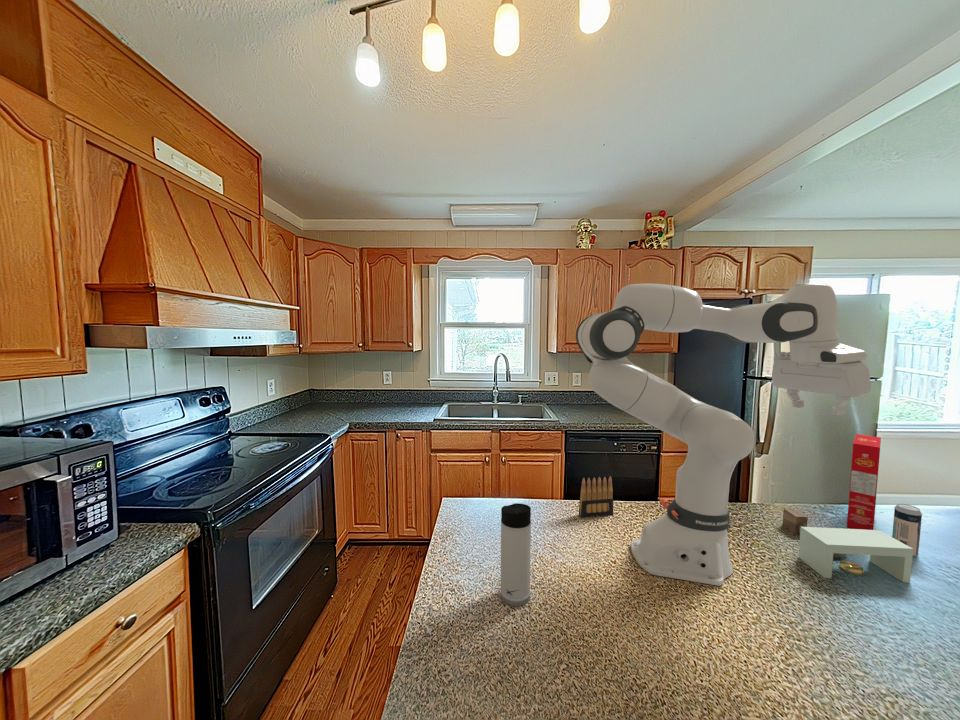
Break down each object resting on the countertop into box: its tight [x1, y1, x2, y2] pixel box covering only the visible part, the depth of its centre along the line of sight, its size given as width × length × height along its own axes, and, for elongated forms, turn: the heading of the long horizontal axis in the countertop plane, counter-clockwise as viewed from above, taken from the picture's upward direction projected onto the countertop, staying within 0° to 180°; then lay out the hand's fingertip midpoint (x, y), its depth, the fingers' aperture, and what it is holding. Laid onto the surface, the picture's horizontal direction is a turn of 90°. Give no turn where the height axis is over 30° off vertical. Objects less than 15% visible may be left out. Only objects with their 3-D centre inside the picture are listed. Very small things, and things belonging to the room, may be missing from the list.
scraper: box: [782, 507, 848, 559], centre depth 103 cm, size 6×16×5 cm, turn 175°
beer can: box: [891, 503, 923, 557], centre depth 97 cm, size 5×5×12 cm
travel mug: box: [500, 502, 532, 607], centre depth 80 cm, size 6×7×20 cm
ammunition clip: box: [578, 475, 614, 518], centre depth 116 cm, size 11×2×12 cm, turn 100°
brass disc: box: [839, 560, 864, 576], centre depth 90 cm, size 4×4×1 cm
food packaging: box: [846, 433, 882, 530], centre depth 112 cm, size 15×5×25 cm, turn 133°
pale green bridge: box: [798, 526, 914, 584], centre depth 90 cm, size 18×8×8 cm, turn 85°
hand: (817, 410), depth 90 cm, fingers open, 8 cm apart
